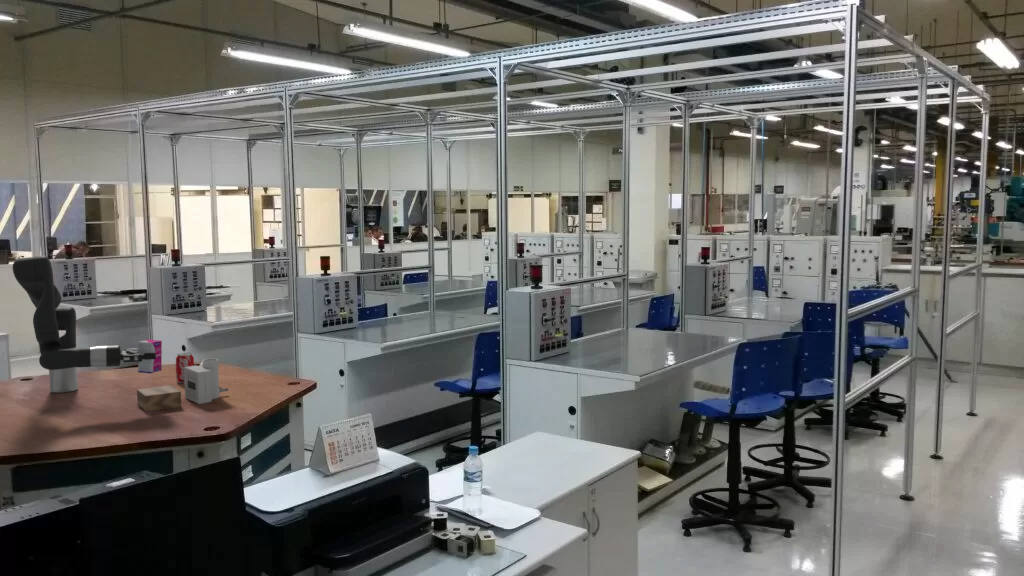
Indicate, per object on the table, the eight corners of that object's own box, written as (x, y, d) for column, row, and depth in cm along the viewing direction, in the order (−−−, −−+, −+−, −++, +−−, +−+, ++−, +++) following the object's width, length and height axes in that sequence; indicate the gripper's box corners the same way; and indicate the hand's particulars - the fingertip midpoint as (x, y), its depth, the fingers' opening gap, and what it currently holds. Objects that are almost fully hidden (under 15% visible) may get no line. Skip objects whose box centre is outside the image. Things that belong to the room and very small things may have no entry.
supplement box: (151, 373, 272) (151, 342, 271) (137, 372, 273) (137, 341, 272) (162, 370, 278) (162, 340, 277) (148, 369, 279) (148, 339, 278)
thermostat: (184, 398, 290) (184, 359, 288) (220, 392, 300) (219, 355, 299) (199, 404, 282) (198, 365, 280) (234, 397, 292) (234, 360, 291)
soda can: (197, 381, 317) (197, 353, 315) (182, 384, 311) (182, 356, 309) (187, 379, 320) (187, 351, 319) (172, 382, 314) (171, 354, 313)
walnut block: (146, 412, 270) (145, 396, 270) (137, 405, 279) (137, 389, 279) (181, 407, 278) (180, 391, 277) (171, 400, 287) (171, 385, 286)
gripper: (104, 349, 262) (155, 347, 269) (106, 342, 275) (155, 340, 282) (104, 370, 263) (156, 367, 270) (106, 362, 275) (155, 360, 283)
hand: (155, 353), depth 276 cm, fingers closed on supplement box, 8 cm apart
